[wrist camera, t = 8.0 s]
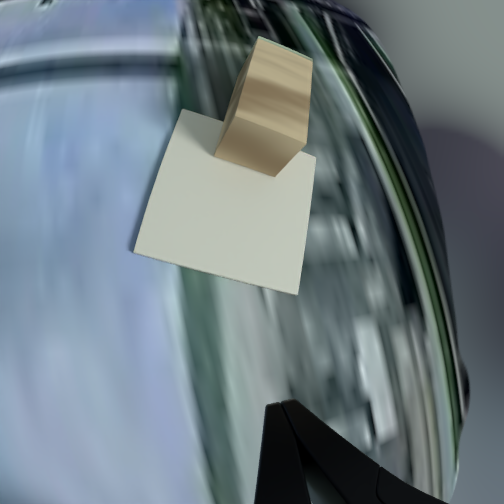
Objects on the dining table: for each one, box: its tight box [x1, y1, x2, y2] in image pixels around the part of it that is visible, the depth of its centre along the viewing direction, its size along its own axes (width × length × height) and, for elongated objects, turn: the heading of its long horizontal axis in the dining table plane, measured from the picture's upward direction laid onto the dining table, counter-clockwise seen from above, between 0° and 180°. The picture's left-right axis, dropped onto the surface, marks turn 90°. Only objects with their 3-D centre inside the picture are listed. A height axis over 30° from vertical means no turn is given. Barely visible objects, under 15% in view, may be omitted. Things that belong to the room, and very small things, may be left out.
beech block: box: [214, 36, 313, 177], centre depth 23 cm, size 5×5×10 cm
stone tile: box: [134, 109, 316, 295], centre depth 24 cm, size 12×12×1 cm
